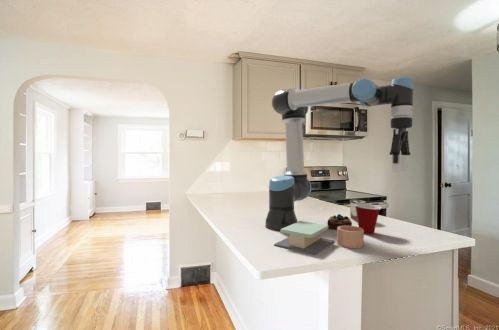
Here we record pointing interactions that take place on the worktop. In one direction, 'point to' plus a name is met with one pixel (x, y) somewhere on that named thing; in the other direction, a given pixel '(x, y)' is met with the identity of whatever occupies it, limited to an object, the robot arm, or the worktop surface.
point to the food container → (353, 209)
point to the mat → (308, 249)
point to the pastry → (338, 221)
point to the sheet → (304, 229)
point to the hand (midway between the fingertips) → (400, 171)
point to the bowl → (350, 236)
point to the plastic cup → (367, 217)
